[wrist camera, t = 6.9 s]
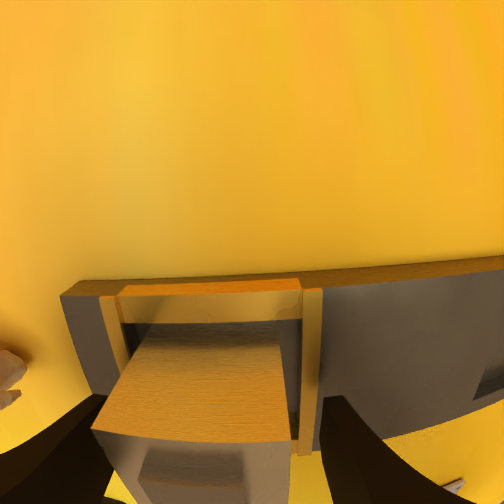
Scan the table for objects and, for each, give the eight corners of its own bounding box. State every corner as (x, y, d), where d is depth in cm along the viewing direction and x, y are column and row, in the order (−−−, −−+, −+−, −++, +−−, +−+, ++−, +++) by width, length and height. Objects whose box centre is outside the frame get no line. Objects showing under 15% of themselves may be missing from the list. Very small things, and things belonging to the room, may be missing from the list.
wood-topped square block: (278, 410, 12) (287, 535, 6) (174, 410, 12) (141, 526, 6) (276, 319, 11) (293, 462, 5) (152, 323, 11) (81, 445, 5)
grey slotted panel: (539, 362, 12) (553, 374, 11) (126, 424, 13) (115, 447, 11) (569, 247, 10) (589, 255, 9) (79, 280, 11) (56, 297, 9)
